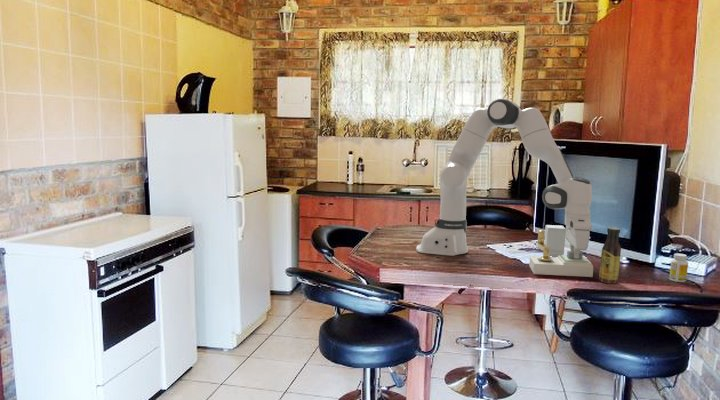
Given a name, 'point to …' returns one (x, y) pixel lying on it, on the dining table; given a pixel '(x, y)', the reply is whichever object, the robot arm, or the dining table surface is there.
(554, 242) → the supplement box
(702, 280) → the dining table surface
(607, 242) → the sauce bottle
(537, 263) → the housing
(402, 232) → the dining table surface
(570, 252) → the sage cover
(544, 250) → the brass crank key
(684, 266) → the supplement bottle
